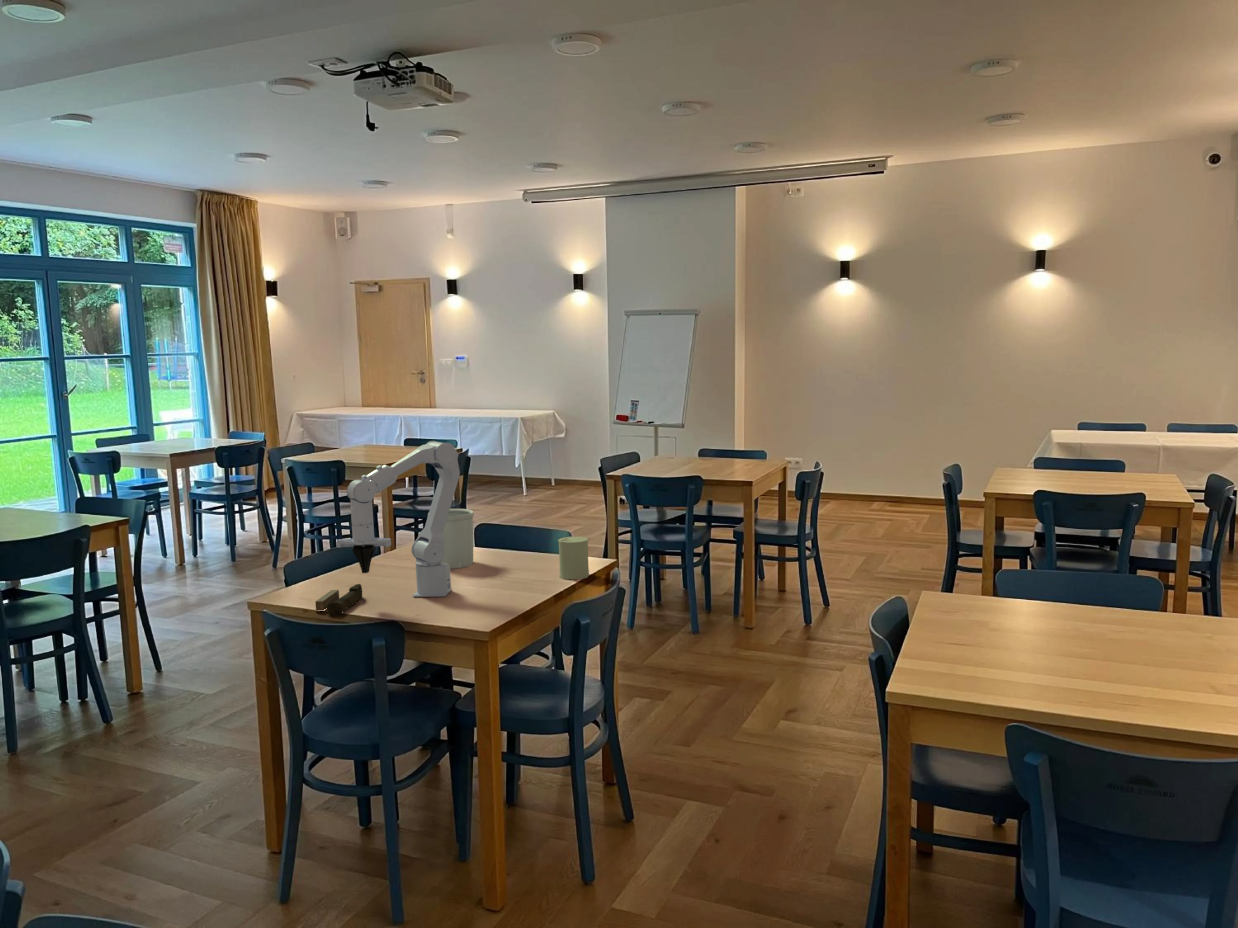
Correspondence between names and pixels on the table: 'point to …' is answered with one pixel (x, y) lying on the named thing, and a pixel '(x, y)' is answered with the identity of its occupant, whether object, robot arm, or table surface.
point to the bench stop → (327, 599)
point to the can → (573, 557)
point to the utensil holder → (458, 538)
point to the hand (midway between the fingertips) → (365, 572)
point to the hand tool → (345, 601)
